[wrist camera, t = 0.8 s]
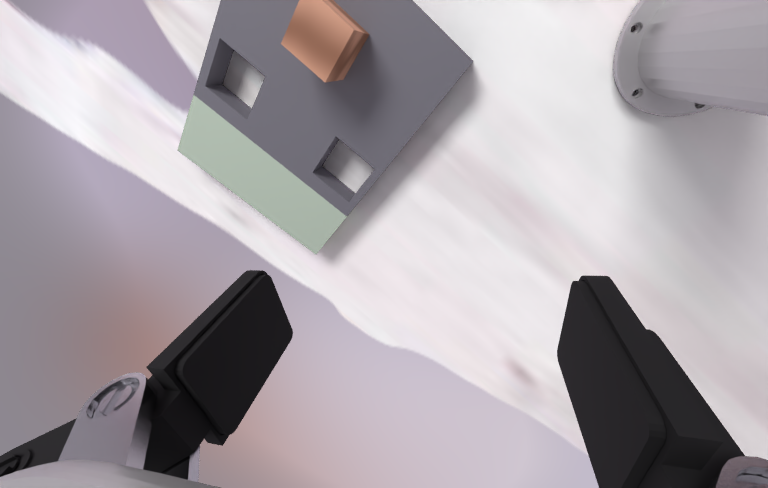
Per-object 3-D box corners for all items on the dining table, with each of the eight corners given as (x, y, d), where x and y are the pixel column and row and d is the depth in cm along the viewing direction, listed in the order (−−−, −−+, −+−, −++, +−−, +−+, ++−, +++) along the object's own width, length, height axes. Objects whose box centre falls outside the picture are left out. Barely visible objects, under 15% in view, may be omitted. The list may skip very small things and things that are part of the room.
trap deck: (282, -129, 27) (263, -149, 24) (472, 61, 31) (473, 61, 28) (193, 145, 44) (177, 150, 41) (323, 244, 48) (315, 254, 46)
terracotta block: (329, -4, 28) (305, -15, 24) (369, 34, 29) (353, 30, 25) (305, 46, 31) (280, 43, 27) (343, 79, 32) (325, 82, 28)
